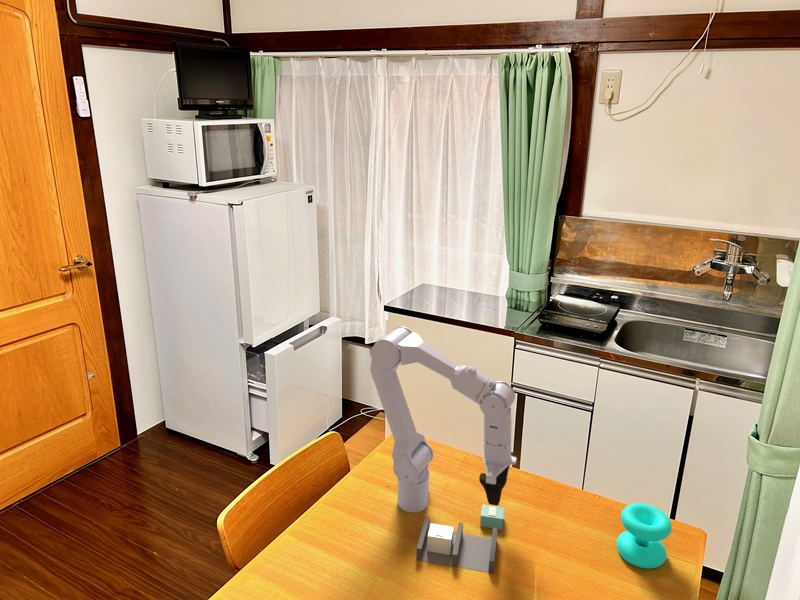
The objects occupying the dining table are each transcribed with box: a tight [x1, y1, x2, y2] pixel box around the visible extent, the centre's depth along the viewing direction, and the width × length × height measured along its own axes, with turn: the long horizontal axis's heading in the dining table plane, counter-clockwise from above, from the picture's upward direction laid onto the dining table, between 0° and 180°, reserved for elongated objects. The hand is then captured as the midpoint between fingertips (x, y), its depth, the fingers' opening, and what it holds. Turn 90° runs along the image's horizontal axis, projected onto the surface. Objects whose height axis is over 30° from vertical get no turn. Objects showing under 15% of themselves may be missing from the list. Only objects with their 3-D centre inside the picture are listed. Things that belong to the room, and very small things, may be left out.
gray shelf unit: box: [415, 516, 499, 574], centre depth 128 cm, size 10×16×4 cm, turn 77°
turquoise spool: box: [616, 503, 673, 569], centre depth 128 cm, size 10×10×10 cm
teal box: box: [479, 503, 505, 530], centre depth 136 cm, size 4×5×4 cm
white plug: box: [427, 522, 455, 555], centre depth 129 cm, size 4×5×4 cm
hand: (497, 493), depth 131 cm, fingers open, 7 cm apart
